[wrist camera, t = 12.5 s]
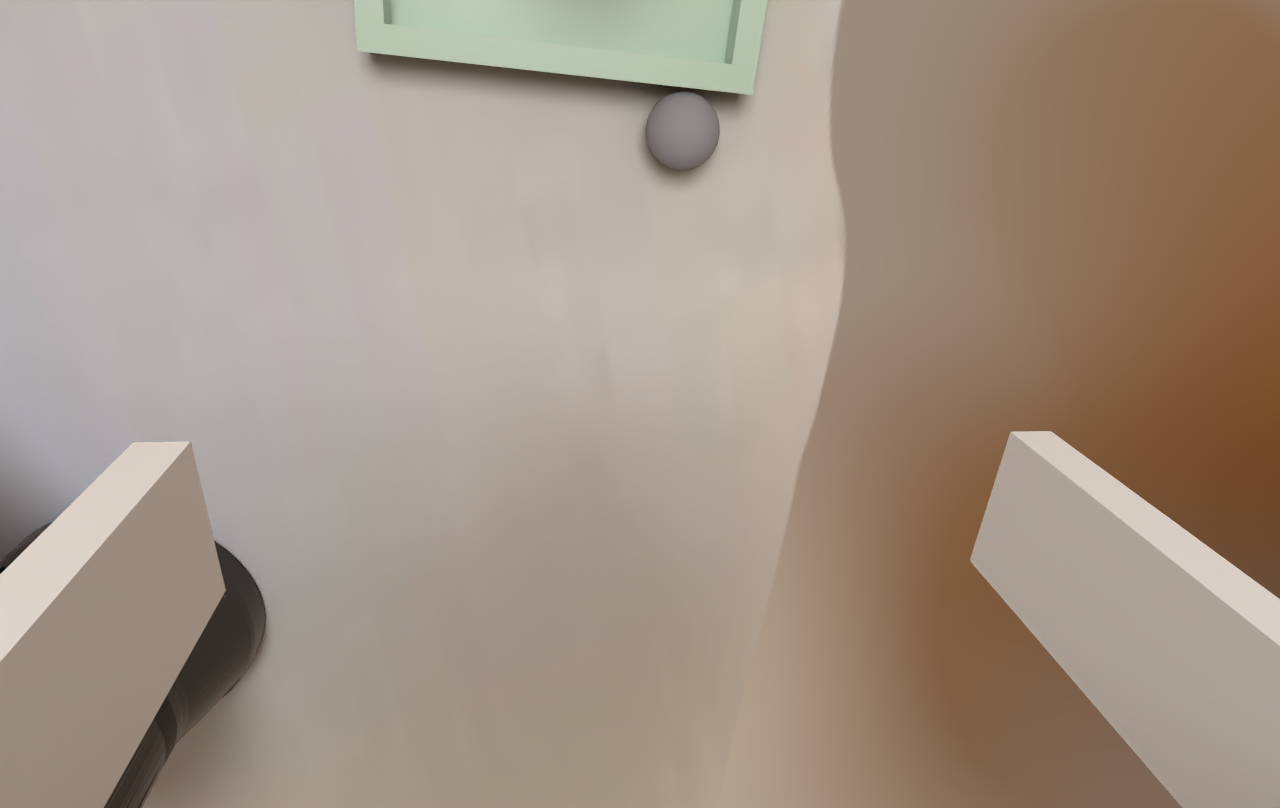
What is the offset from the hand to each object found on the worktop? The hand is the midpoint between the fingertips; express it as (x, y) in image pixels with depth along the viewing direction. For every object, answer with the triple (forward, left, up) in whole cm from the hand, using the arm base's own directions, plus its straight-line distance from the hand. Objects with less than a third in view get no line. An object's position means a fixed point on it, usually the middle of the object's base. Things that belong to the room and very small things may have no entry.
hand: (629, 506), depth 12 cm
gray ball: (+5, +3, -29) cm, 30 cm away
